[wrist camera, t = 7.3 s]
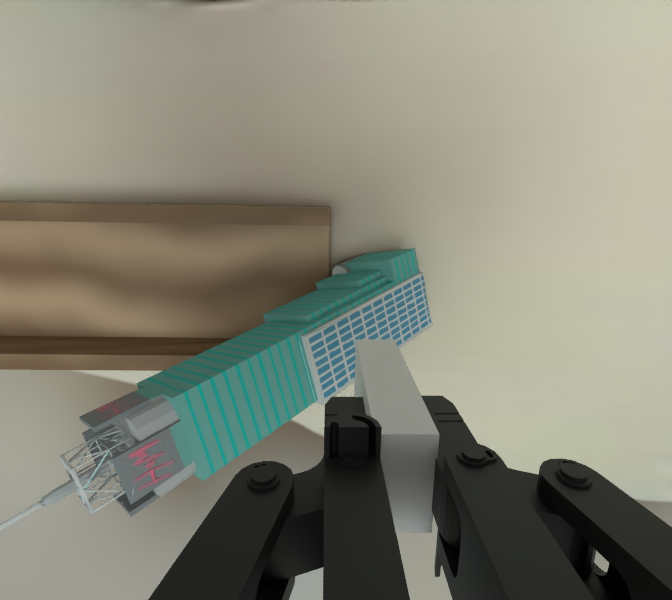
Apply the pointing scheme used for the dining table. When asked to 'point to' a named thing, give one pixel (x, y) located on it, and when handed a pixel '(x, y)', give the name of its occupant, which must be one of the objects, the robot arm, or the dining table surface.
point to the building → (245, 384)
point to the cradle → (147, 278)
